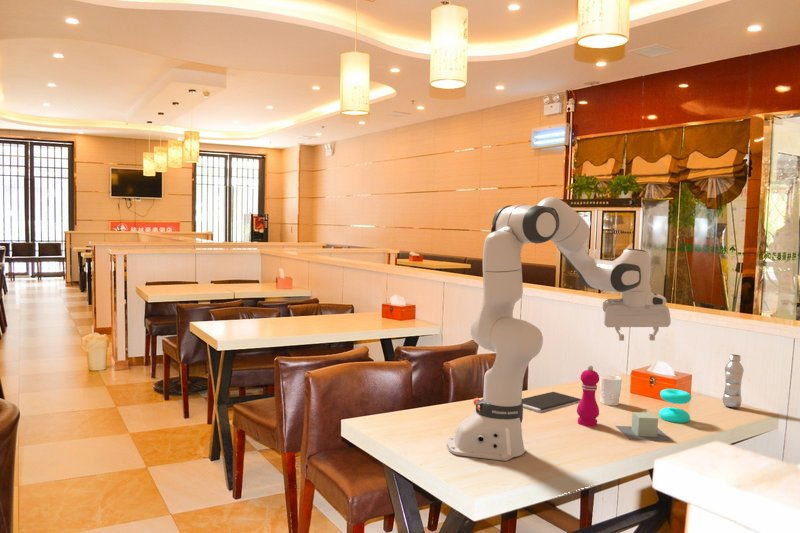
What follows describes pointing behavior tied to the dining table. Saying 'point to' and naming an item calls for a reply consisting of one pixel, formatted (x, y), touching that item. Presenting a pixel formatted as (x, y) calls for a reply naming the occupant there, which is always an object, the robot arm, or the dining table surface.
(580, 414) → the pepper mill
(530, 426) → the dining table surface
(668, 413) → the donuts
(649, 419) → the sage block
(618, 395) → the white cup
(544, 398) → the dark grey flat slab
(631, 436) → the mat
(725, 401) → the plastic bottle
